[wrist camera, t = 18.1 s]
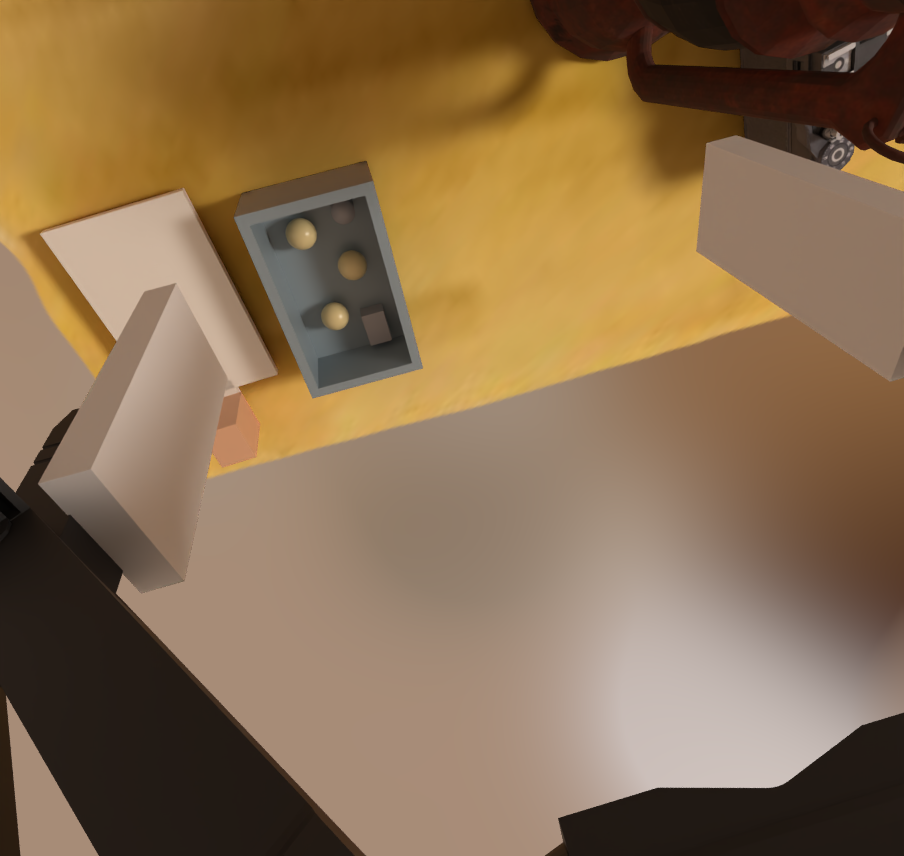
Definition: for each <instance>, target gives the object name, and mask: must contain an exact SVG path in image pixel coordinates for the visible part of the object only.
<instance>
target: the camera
mask: <svg viewBox="0 0 904 856" xmlns="http://www.w3.org/2000/svg"><path fill="white" fill-rule="evenodd" d="M892 30H893V28H892V29H891V30H889V31H888V32H886V33H885V34H883V35H880V36H876V37H873V38H869V39H866V40H862V41H859V42H855V43H851V42H845V41H836V42H835V43H833V44H831V45H830V46H828V47H827V48H825V49H824V50H822V51H818V52H815V53H811V54H807V55H804V56H800V57H797V58H793V59H788V58H779V57H771V56H764V55H757V54H754V53H753V52H751V51H750V50H749V49H747V48H744V49H740V60H741V68H754V69H780V70H805V71H831V72H856V71H857V70H859V69H860V68H861V67H862V66H863V65H865V64H866V63H867V62H868V61H869V60H870V59H871V58H872V57H873V56H875V54H876V53H877V52H878V50H879V49H880V48H881V46H882V45H883V44H884V43H885V41H886V40H887V38H888V37H889V35H890V33H891V31H892ZM744 131H745V138H746V139H749V140H752V141H755V142H758V143H761V144H764V145H767V146H770V147H773V148H776V149H779V150H782V151H785V152H787V153H790V154H793V155H796V156H799V157H802V158H805V159H808V160H811V161H814V162H817V163H820V164H823V165H826V166H829V167H832V168H835V169H838V170H841V169H842V168H843V167H844V166H845V165H846V164H847V163H848V162H849V161H850V158H851V156H852V155H853V153H854V144H852V143H851V142H850V141H849V140H847V139H846V138H845V137H843V136H842V135H841V134H840V133H838V132H837V131H836V130H834V129H831V128H824V127H817V126H810V125H803V124H796V123H789V122H782V121H775V120H768V119H762V118H755V117H748V116H744Z"/></svg>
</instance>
